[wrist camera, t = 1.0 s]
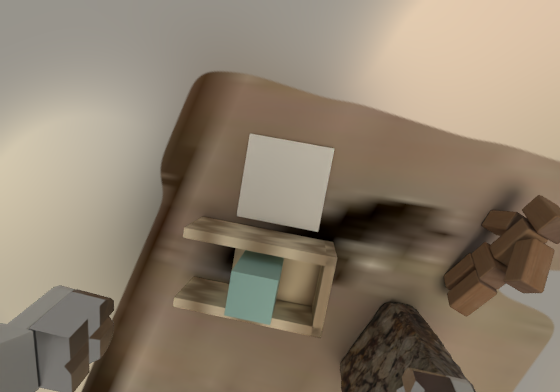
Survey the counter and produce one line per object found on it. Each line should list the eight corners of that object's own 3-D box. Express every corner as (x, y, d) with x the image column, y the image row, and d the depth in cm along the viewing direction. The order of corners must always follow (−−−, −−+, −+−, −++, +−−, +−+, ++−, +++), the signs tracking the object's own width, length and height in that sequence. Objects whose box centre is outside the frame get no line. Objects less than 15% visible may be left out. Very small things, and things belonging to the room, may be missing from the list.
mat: (334, 148, 44) (334, 148, 43) (317, 230, 46) (318, 231, 45) (251, 133, 45) (250, 133, 44) (237, 214, 46) (236, 216, 46)
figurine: (439, 257, 48) (525, 177, 40) (454, 266, 48) (543, 187, 40) (453, 330, 37) (576, 239, 29) (472, 342, 37) (601, 253, 29)
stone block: (376, 389, 48) (423, 557, 28) (332, 365, 48) (348, 514, 28) (427, 312, 46) (516, 432, 26) (380, 286, 46) (434, 388, 26)
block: (284, 255, 44) (278, 280, 35) (277, 291, 45) (270, 325, 36) (247, 247, 45) (231, 271, 36) (241, 283, 45) (224, 315, 36)
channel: (333, 242, 46) (337, 257, 39) (318, 311, 47) (320, 338, 40) (202, 216, 47) (184, 227, 40) (192, 284, 48) (172, 306, 41)
